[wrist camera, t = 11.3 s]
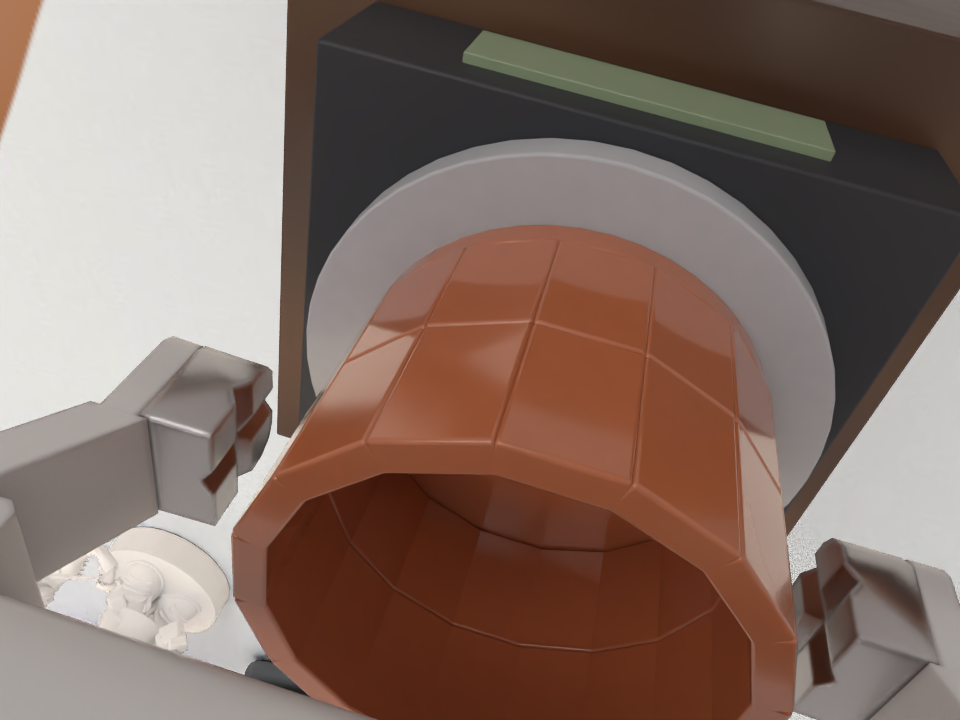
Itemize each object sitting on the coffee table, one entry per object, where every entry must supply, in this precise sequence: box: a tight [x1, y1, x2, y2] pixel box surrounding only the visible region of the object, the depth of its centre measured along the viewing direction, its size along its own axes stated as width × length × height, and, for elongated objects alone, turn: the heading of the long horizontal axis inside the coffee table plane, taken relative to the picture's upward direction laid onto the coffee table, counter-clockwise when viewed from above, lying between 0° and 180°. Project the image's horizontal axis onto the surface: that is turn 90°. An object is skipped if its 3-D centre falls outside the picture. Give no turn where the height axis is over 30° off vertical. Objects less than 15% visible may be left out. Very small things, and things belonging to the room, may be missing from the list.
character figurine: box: [98, 527, 229, 654], centre depth 49 cm, size 9×10×12 cm
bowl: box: [231, 225, 798, 720], centre depth 11 cm, size 6×6×4 cm
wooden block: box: [277, 0, 960, 536], centre depth 21 cm, size 12×12×16 cm
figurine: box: [38, 544, 124, 607], centre depth 41 cm, size 7×7×12 cm
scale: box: [299, 1, 960, 514], centre depth 13 cm, size 9×9×3 cm
